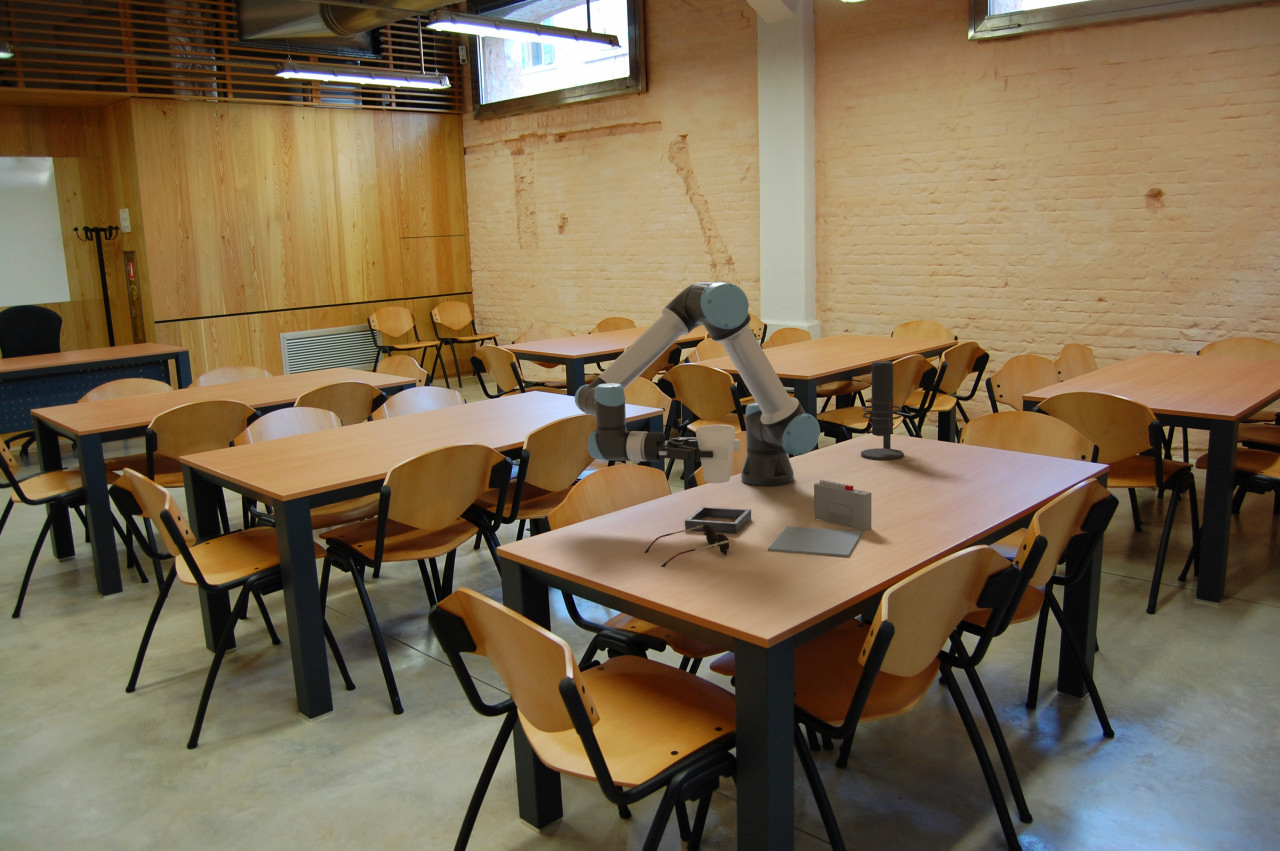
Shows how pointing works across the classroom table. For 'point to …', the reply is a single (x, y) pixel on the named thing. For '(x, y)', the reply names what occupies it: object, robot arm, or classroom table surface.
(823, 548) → the rubber mat
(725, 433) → the foam cup
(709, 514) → the holder collar
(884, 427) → the microphone
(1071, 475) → the classroom table surface
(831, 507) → the cassette player
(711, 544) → the sunglasses
